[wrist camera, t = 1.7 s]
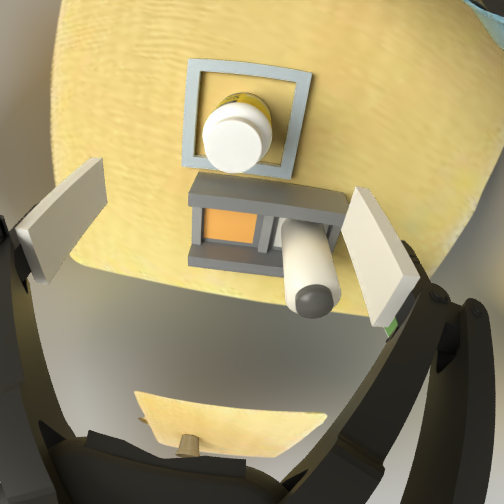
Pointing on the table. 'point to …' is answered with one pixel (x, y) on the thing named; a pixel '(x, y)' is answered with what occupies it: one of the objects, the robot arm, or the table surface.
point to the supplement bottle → (238, 133)
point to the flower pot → (188, 446)
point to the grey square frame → (255, 70)
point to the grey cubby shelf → (254, 221)
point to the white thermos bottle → (308, 269)
